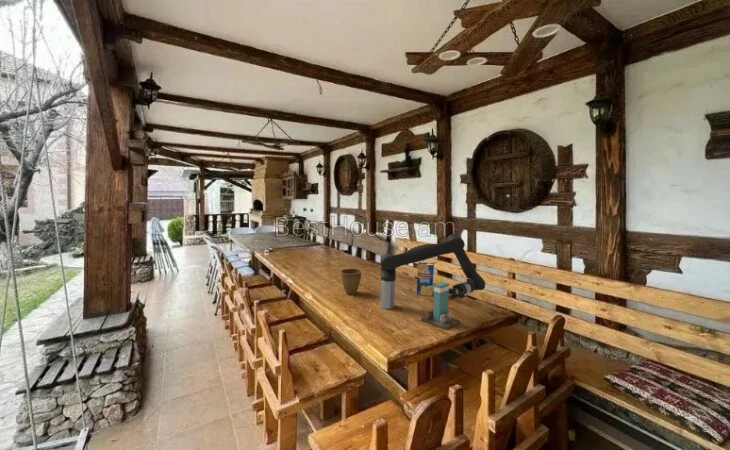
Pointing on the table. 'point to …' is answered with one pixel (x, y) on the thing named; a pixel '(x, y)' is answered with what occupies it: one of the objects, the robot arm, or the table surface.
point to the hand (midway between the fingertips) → (445, 294)
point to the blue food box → (425, 278)
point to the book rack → (441, 320)
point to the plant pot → (351, 280)
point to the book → (440, 300)
